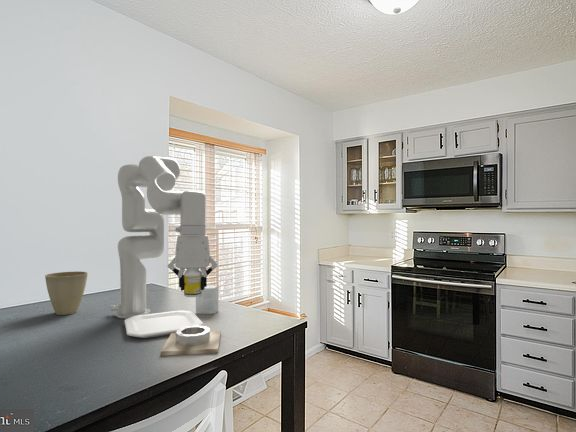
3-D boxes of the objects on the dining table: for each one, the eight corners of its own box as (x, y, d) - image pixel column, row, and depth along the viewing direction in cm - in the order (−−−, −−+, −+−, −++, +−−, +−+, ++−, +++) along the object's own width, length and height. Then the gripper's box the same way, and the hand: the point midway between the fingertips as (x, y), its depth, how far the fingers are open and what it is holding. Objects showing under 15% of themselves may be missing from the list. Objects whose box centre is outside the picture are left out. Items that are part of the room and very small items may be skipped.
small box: (218, 310, 149) (218, 285, 149) (214, 314, 144) (214, 288, 144) (200, 310, 150) (200, 285, 150) (195, 313, 144) (195, 287, 144)
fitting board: (160, 355, 101) (160, 351, 101) (171, 336, 117) (171, 333, 117) (218, 352, 103) (218, 348, 103) (220, 334, 119) (220, 330, 119)
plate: (127, 343, 111) (127, 336, 111) (123, 322, 133) (123, 316, 133) (206, 331, 123) (206, 325, 123) (190, 314, 145) (190, 308, 145)
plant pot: (84, 315, 142) (84, 275, 142) (40, 319, 136) (40, 277, 136) (90, 306, 156) (90, 270, 156) (50, 309, 150) (50, 272, 150)
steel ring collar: (173, 347, 104) (173, 336, 104) (179, 335, 114) (179, 326, 114) (208, 345, 106) (208, 335, 106) (211, 334, 116) (211, 325, 116)
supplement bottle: (185, 293, 113) (185, 262, 113) (203, 293, 113) (203, 262, 113) (182, 297, 107) (182, 265, 107) (200, 297, 108) (200, 265, 108)
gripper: (161, 231, 105) (161, 293, 105) (220, 231, 108) (220, 291, 108) (166, 230, 113) (166, 287, 113) (221, 230, 115) (221, 286, 115)
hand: (192, 289), depth 110 cm, fingers closed on supplement bottle, 5 cm apart
